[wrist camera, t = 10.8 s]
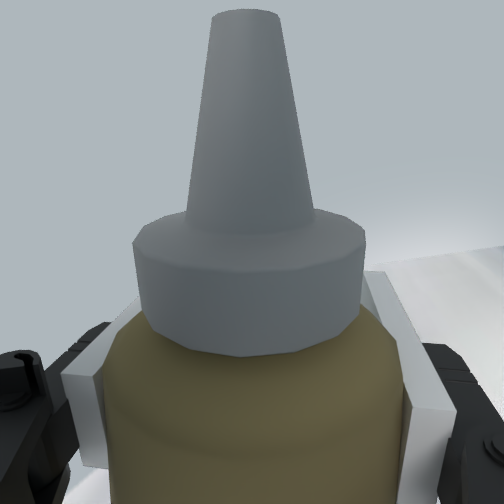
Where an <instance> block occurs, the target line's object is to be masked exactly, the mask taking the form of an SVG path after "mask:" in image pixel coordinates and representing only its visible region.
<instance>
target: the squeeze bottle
mask: <svg viewBox="0 0 504 504" xmlns="http://www.w3.org/2000/svg"><path fill="white" fill-rule="evenodd" d="M201 98H202V99H201V105H200V113H199V120H198V127H197V136H196V142H195V151H194V157H193V165H192V172H191V180H190V187H189V195H188V203H187V210H186V211H184V212H181V213H176V214H172V215H168V216H164V217H162V218H160V219H158V220H156V221H154V222H152V223H150V224H147V225H145V226H144V227H143V228H142V229H141V231H140V232H139V234H138V235H137V237H136V238H135V240H134V241H133V243H132V244H133V251H134V259H135V266H136V273H137V280H138V287H139V294H140V301H141V309H142V310H141V311H140V312H139V313H138V314H137V315H136V316H134V317H133V318H132V319H131V320H130V321H129V322H128V323H127V324H126V325H125V326H124V327H122V328H121V329H120V330H119V331H118V332H117V334H116V336H115V338H114V340H113V343H112V345H111V347H110V349H109V352H108V354H107V356H106V358H105V361H104V363H103V365H102V375H103V390H104V405H105V421H106V436H107V451H108V467H109V482H110V497H111V504H396V495H397V483H398V471H399V459H400V447H401V434H402V404H403V374H402V368H401V363H400V358H399V352H398V347H397V342H396V340H395V339H394V337H393V336H392V335H391V334H390V333H389V332H388V331H387V330H386V328H385V327H384V326H383V325H382V324H381V323H380V322H379V321H378V319H377V318H376V317H375V316H374V315H373V314H372V313H371V312H370V311H369V310H368V309H367V308H365V307H364V306H363V305H362V304H361V303H360V300H361V290H362V279H363V269H364V258H365V248H366V241H365V231H364V229H363V228H362V227H361V226H359V225H358V224H356V223H355V222H353V221H351V220H350V219H348V218H347V217H345V216H342V215H338V214H334V213H331V212H327V211H324V210H320V209H314V208H313V203H312V197H311V191H310V186H309V180H308V174H307V169H306V163H305V158H304V152H303V146H302V141H301V135H300V129H299V124H298V118H297V112H296V107H295V102H294V96H293V90H292V84H291V79H290V73H289V67H288V62H287V56H286V50H285V45H284V39H283V34H282V28H281V23H280V18H279V17H278V15H277V14H275V13H272V12H270V11H264V10H258V9H237V10H229V11H225V12H221V13H218V14H216V15H215V16H213V17H212V22H211V30H210V38H209V45H208V52H207V60H206V67H205V75H204V82H203V90H202V97H201Z"/></svg>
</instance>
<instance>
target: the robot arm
mask: <svg viewBox="0 0 504 504" xmlns="http://www.w3.org/2000/svg"><path fill="white" fill-rule="evenodd" d="M360 303H361V304H362V305H363V306H364V307H365V308H367V309H368V310H369V311H370V312H371V313H372V314H373V315H374V316H375V317H376V318H377V319H378V321H379V322H380V323H381V324H382V325H383V326H384V327H385V328H386V330H387V331H388V332H389V333H390V334H391V335H392V336H393V337H394V339H395V340H396V342H397V347H398V352H399V358H400V363H401V368H402V374H403V404H402V434H401V447H400V459H399V471H398V483H397V495H396V504H436V502H437V497H439V500H440V503H441V504H504V421H503V420H502V418H501V417H500V415H499V413H498V412H497V410H496V409H495V407H494V406H493V404H492V403H491V401H490V400H489V398H488V397H487V395H486V394H485V392H484V391H483V389H482V388H481V386H480V385H478V382H477V380H476V379H475V377H474V375H473V374H472V373H470V369H469V368H468V366H467V365H466V363H465V362H464V360H463V359H462V357H461V356H460V355H458V354H457V353H456V352H454V351H453V350H452V349H451V348H449V347H448V346H447V345H445V344H431V343H421V341H420V339H419V337H418V335H417V333H416V331H415V329H414V327H413V325H412V323H411V321H410V320H409V318H408V316H407V314H406V312H405V310H404V308H403V306H402V304H401V302H400V300H399V298H398V296H397V294H396V292H395V290H394V289H393V287H392V285H391V283H390V281H389V279H388V277H387V275H386V273H385V272H375V271H363V279H362V290H361V300H360ZM141 310H142V309H141V301H140V295H139V296H138V297H137V298H136V299H135V300H134V301H133V302H132V303H131V304H130V305H129V306H128V307H127V308H126V309H125V310H124V311H123V312H122V313H121V314H120V315H119V316H118V317H117V318H116V319H115V320H114V321H113V322H103V323H101V324H100V325H98V326H96V327H94V328H92V329H90V330H88V331H87V332H86V333H85V334H84V335H83V336H82V337H81V338H80V339H79V340H78V341H77V343H74V344H73V345H72V346H71V347H70V348H69V349H68V351H66V352H64V353H63V354H62V355H61V356H60V357H59V358H58V359H57V360H56V361H55V362H54V363H53V364H51V365H50V366H49V367H48V368H47V369H46V370H45V371H44V369H43V365H42V362H41V358H40V356H39V355H38V353H37V352H34V351H31V350H17V351H12V352H7V353H4V354H1V355H0V504H62V502H63V499H64V496H65V493H66V490H67V487H68V484H69V480H70V472H71V471H70V468H69V464H68V462H69V461H70V459H71V458H72V457H73V455H74V454H75V453H76V451H77V450H78V448H79V451H80V455H81V459H82V463H83V466H87V467H95V468H102V469H109V467H108V451H107V436H106V421H105V405H104V390H103V375H102V365H103V363H104V361H105V358H106V356H107V354H108V352H109V349H110V347H111V345H112V343H113V340H114V338H115V336H116V334H117V332H118V331H119V330H120V329H121V328H122V327H124V326H125V325H126V324H127V323H128V322H129V321H130V320H131V319H132V318H133V317H134V316H136V315H137V314H138V313H139V312H140V311H141Z"/></svg>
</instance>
